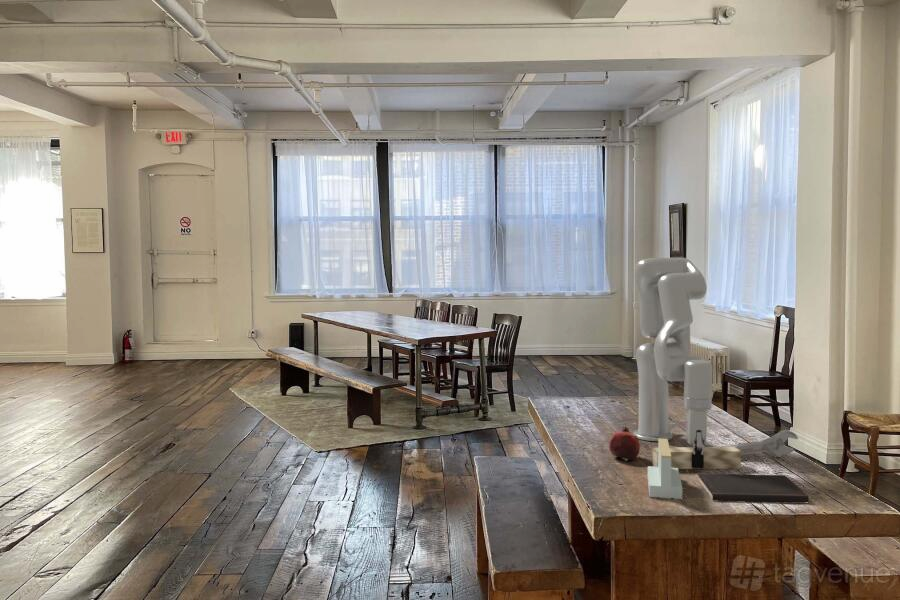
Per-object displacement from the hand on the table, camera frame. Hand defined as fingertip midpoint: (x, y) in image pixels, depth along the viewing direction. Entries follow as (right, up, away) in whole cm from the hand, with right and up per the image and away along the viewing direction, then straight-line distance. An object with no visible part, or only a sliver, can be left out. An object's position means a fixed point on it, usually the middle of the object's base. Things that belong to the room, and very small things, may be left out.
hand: (696, 463), depth 202 cm
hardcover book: (+7, -3, -20) cm, 22 cm away
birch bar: (0, -1, 0) cm, 1 cm away
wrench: (+18, 0, +8) cm, 20 cm away
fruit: (-19, -1, +9) cm, 21 cm away
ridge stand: (-15, -2, -17) cm, 22 cm away
